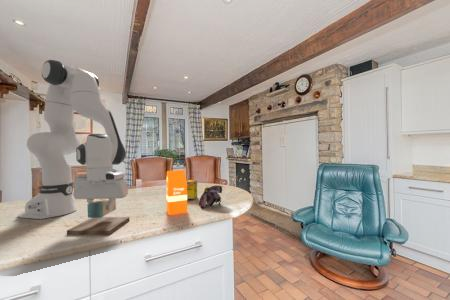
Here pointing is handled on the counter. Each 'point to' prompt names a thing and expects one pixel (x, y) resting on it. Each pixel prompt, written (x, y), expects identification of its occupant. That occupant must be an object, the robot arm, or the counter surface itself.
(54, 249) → the counter surface
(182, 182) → the orange juice
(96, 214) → the beech block
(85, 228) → the chopping board
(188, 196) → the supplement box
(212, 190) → the decorative flower
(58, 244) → the counter surface
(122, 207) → the counter surface
